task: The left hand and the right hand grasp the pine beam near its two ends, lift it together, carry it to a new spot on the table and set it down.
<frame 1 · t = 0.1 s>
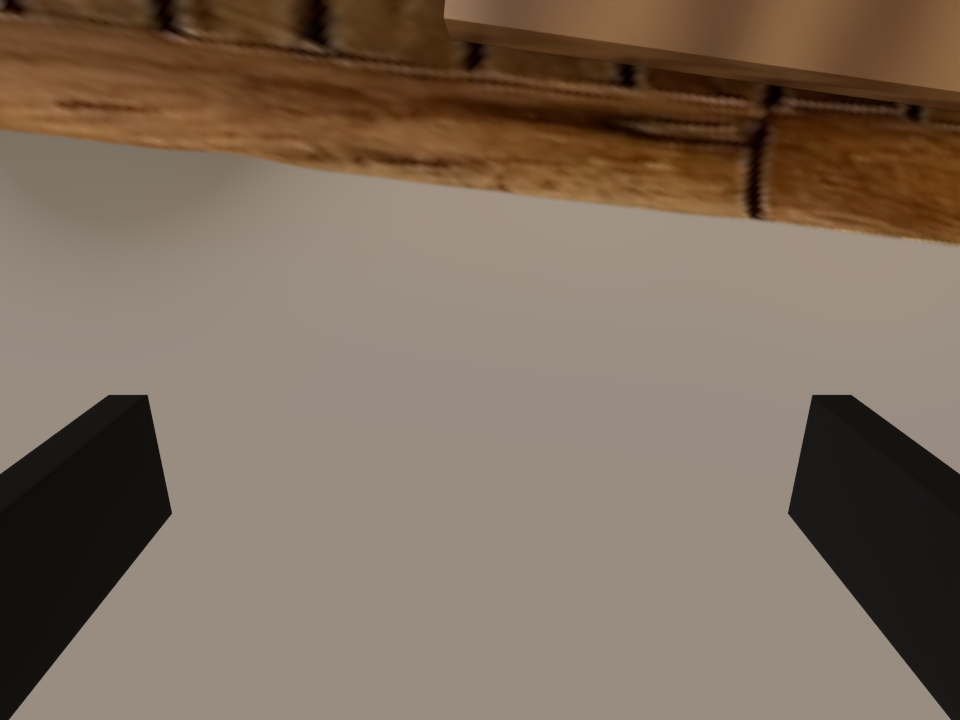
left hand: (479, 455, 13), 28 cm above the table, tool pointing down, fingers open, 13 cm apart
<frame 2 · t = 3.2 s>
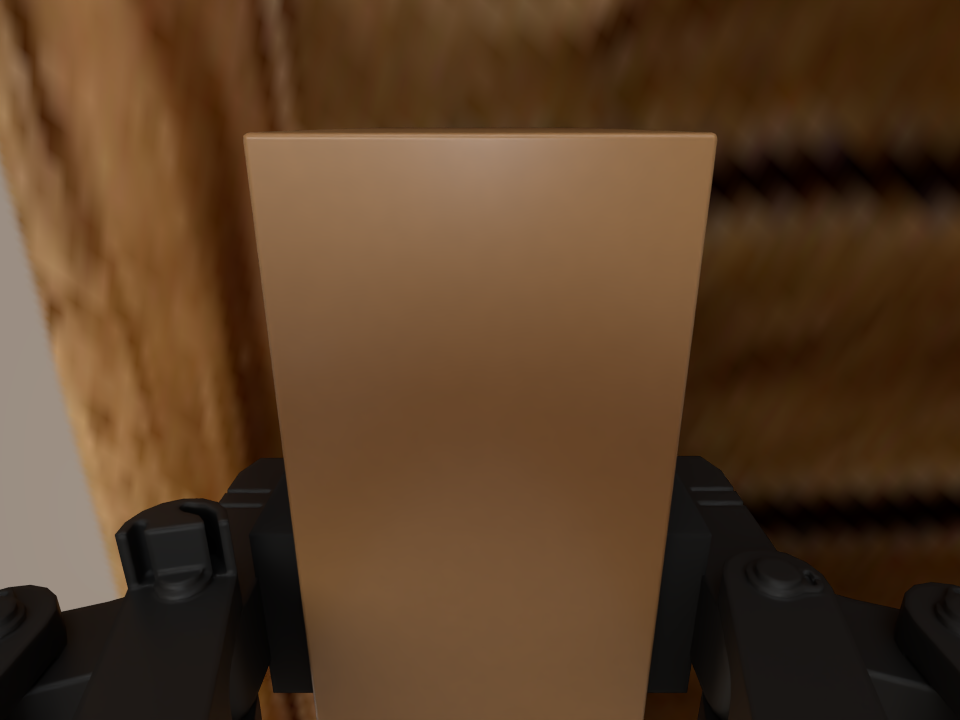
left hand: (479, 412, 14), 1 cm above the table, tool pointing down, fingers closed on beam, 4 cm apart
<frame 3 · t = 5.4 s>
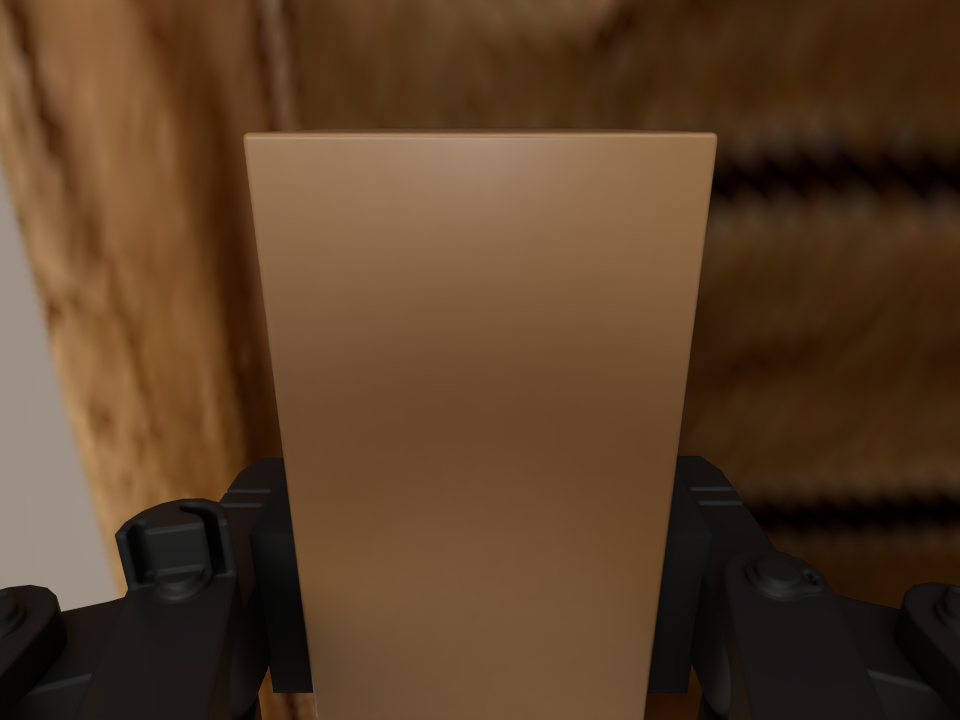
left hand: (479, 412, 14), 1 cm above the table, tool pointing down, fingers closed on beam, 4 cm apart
when the left hand's fingers open (2 cm above the table, at t = 9.9 s): beam drops 1 cm, on the table.
when the right hand's fingers open (2 cm above the table, at t = 9.9 s): beam drops 1 cm, on the table.
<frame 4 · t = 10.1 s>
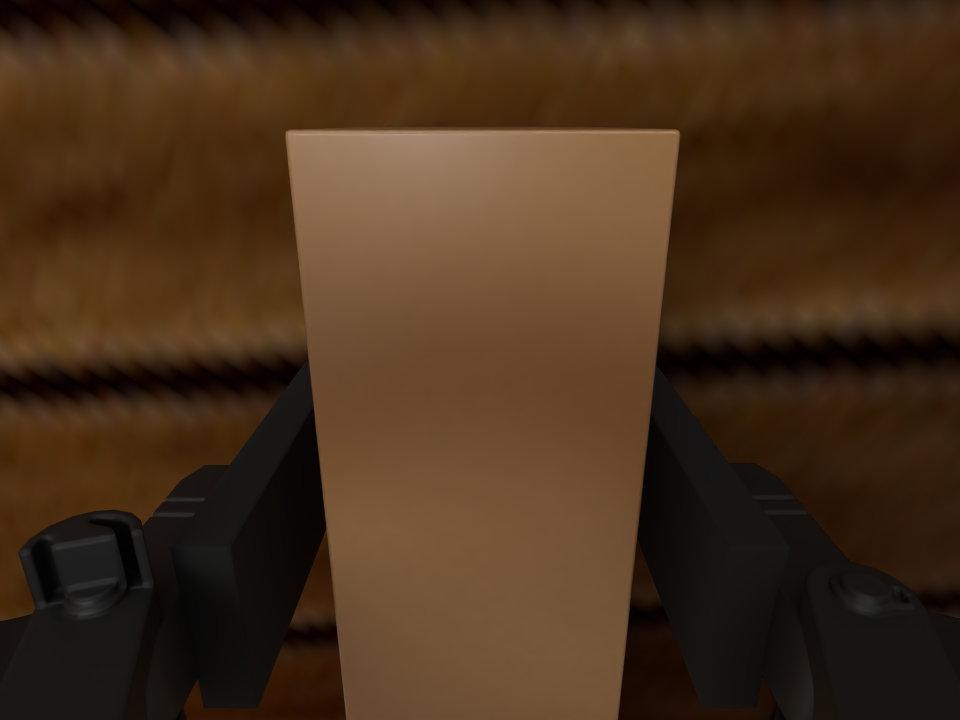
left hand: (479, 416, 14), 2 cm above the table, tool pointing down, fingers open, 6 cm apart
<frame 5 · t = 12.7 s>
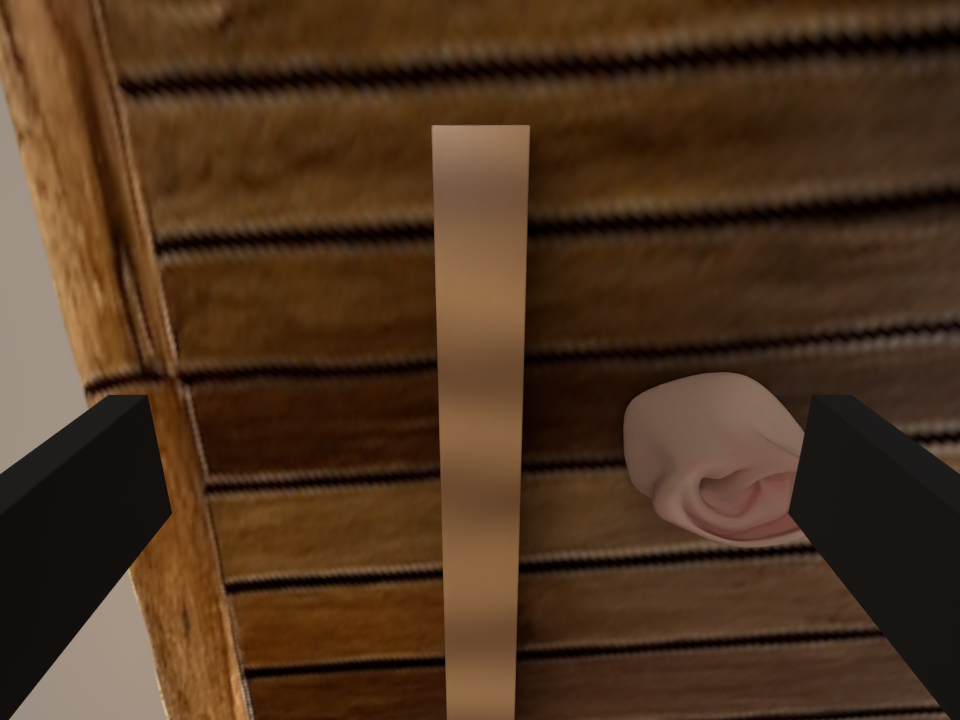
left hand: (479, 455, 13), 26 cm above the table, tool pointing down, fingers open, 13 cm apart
anatomical model: (712, 451, 42), on the table
beam: (480, 555, 45), on the table
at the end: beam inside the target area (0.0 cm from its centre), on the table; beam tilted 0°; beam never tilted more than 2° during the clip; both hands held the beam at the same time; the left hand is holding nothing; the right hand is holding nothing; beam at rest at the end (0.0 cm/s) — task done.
